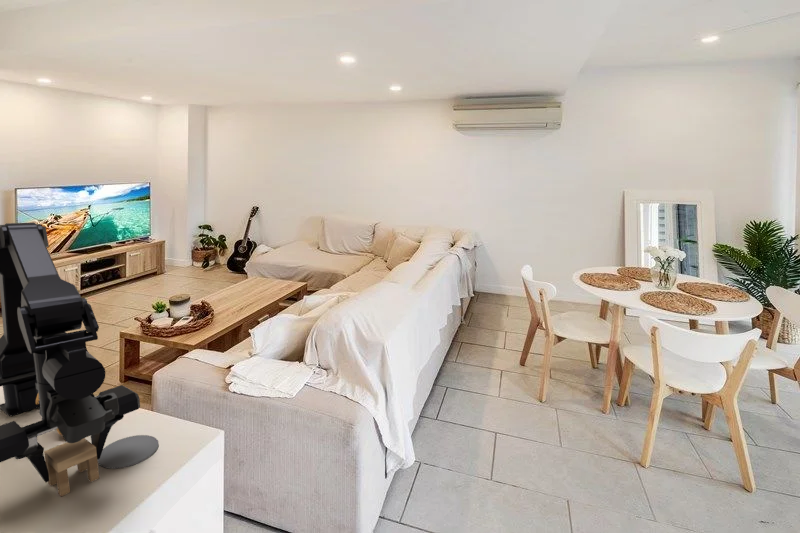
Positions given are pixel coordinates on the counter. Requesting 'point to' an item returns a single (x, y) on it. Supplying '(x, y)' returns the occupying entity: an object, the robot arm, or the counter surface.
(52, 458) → the oak stool
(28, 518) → the counter surface
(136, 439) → the charcoal mat
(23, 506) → the counter surface
